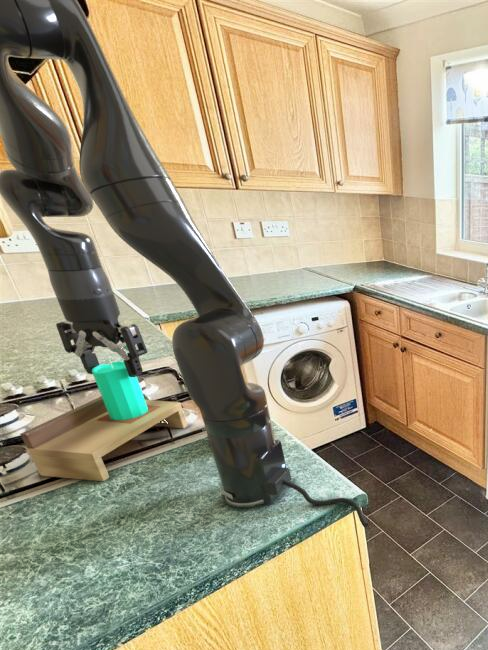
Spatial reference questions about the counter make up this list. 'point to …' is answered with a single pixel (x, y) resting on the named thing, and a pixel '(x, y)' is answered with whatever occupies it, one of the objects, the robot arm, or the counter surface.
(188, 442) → the counter surface
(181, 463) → the counter surface
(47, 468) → the shelf
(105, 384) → the candle
